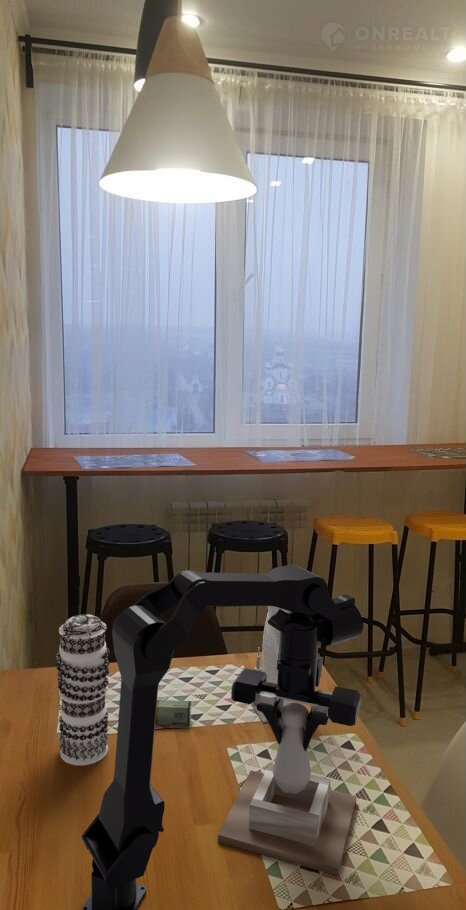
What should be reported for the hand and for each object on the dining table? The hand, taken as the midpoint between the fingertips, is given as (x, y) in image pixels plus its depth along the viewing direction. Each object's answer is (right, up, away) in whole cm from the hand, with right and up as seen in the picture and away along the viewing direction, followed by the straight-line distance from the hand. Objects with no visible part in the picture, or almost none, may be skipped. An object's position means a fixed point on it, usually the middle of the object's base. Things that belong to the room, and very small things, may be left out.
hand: (293, 747), depth 103 cm
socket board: (0, -13, +2) cm, 13 cm away
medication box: (-23, -8, +29) cm, 38 cm away
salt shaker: (0, -7, +1) cm, 7 cm away
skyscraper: (0, -7, +33) cm, 33 cm away
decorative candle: (-36, -9, +19) cm, 41 cm away
